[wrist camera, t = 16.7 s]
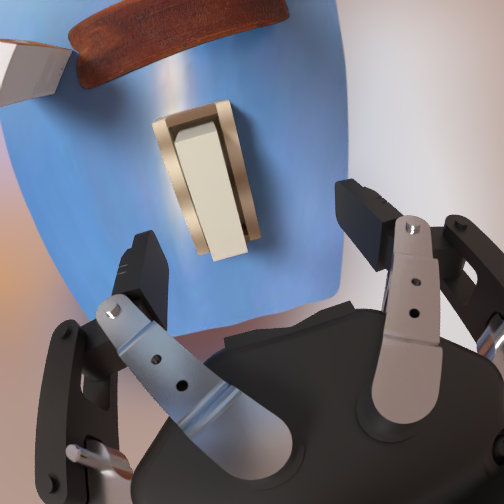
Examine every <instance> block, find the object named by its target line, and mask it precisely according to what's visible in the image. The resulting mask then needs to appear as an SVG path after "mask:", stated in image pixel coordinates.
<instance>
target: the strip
mask: <svg viewBox="0 0 504 504" xmlns="http://www.w3.org/2000/svg"><path fill="white" fill-rule="evenodd" d="M175 147H176V150H177V153H178V156H179V160H180V163H181V166H182V169H183V172H184V175H185V178H186V181H187V185H188V188H189V191H190V194H191V197H192V200H193V203H194V206H195V209H196V212H197V215H198V218H199V220H200V223H201V226H202V229H203V232H204V235H205V238H206V241H207V243H208V246H209V249H210V252H211V255H212V258H213V260H214V261H217V260H221V259H225V258H228V257H232V256H236V255H239V254H243V253H247V252H248V250H247V246H246V243H245V239H244V235H243V231H242V227H241V223H240V219H239V215H238V212H237V208H236V204H235V200H234V196H233V192H232V188H231V184H230V181H229V177H228V173H227V169H226V165H225V161H224V157H223V153H222V149H221V145H220V141H219V138H218V134H217V130H216V128H215V125H214V122H213V120H209V121H205V122H202V123H198V124H195V125H191V126H188V127H185V128H181V129H179V132H178V135H177V137H176V140H175Z"/></svg>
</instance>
